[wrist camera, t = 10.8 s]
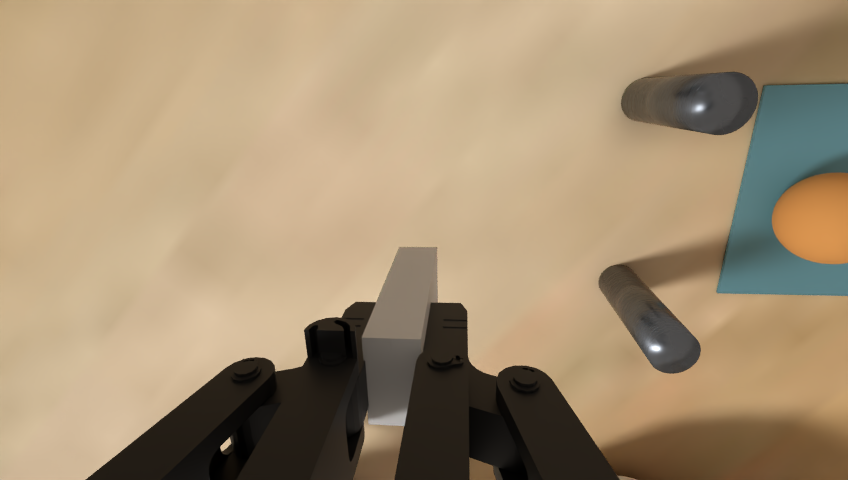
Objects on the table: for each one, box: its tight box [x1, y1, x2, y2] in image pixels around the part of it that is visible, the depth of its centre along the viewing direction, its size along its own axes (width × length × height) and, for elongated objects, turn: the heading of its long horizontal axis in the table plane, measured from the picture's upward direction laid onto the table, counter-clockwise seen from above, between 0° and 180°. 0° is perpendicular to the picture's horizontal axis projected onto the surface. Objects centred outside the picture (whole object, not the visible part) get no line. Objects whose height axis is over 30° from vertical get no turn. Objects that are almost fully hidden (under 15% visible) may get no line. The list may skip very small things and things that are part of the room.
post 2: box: [599, 265, 701, 373], centre depth 27 cm, size 3×3×9 cm
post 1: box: [621, 72, 758, 135], centre depth 23 cm, size 3×3×9 cm
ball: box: [772, 172, 848, 264], centre depth 26 cm, size 6×6×6 cm
